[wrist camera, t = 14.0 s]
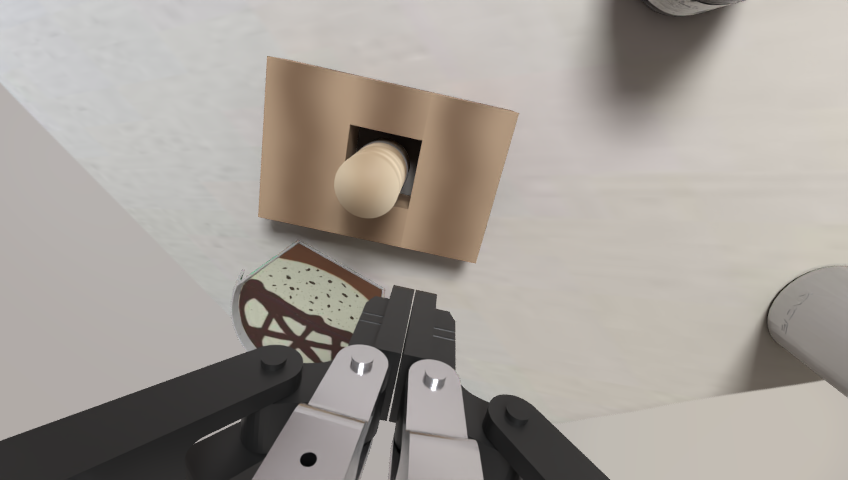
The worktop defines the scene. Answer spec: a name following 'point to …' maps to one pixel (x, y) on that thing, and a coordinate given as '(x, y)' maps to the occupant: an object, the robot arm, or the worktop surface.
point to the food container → (300, 303)
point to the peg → (372, 178)
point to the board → (337, 141)
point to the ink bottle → (686, 6)
